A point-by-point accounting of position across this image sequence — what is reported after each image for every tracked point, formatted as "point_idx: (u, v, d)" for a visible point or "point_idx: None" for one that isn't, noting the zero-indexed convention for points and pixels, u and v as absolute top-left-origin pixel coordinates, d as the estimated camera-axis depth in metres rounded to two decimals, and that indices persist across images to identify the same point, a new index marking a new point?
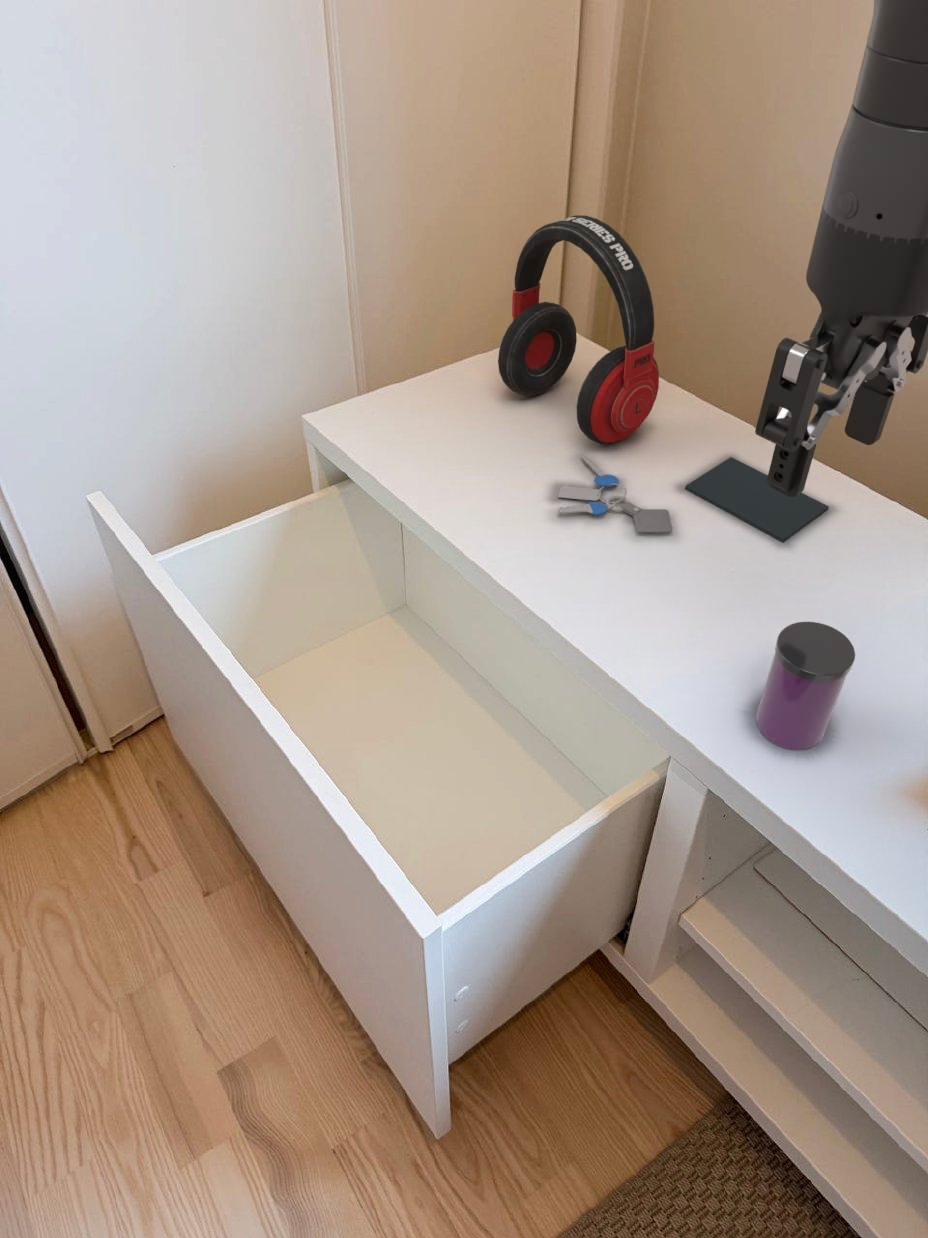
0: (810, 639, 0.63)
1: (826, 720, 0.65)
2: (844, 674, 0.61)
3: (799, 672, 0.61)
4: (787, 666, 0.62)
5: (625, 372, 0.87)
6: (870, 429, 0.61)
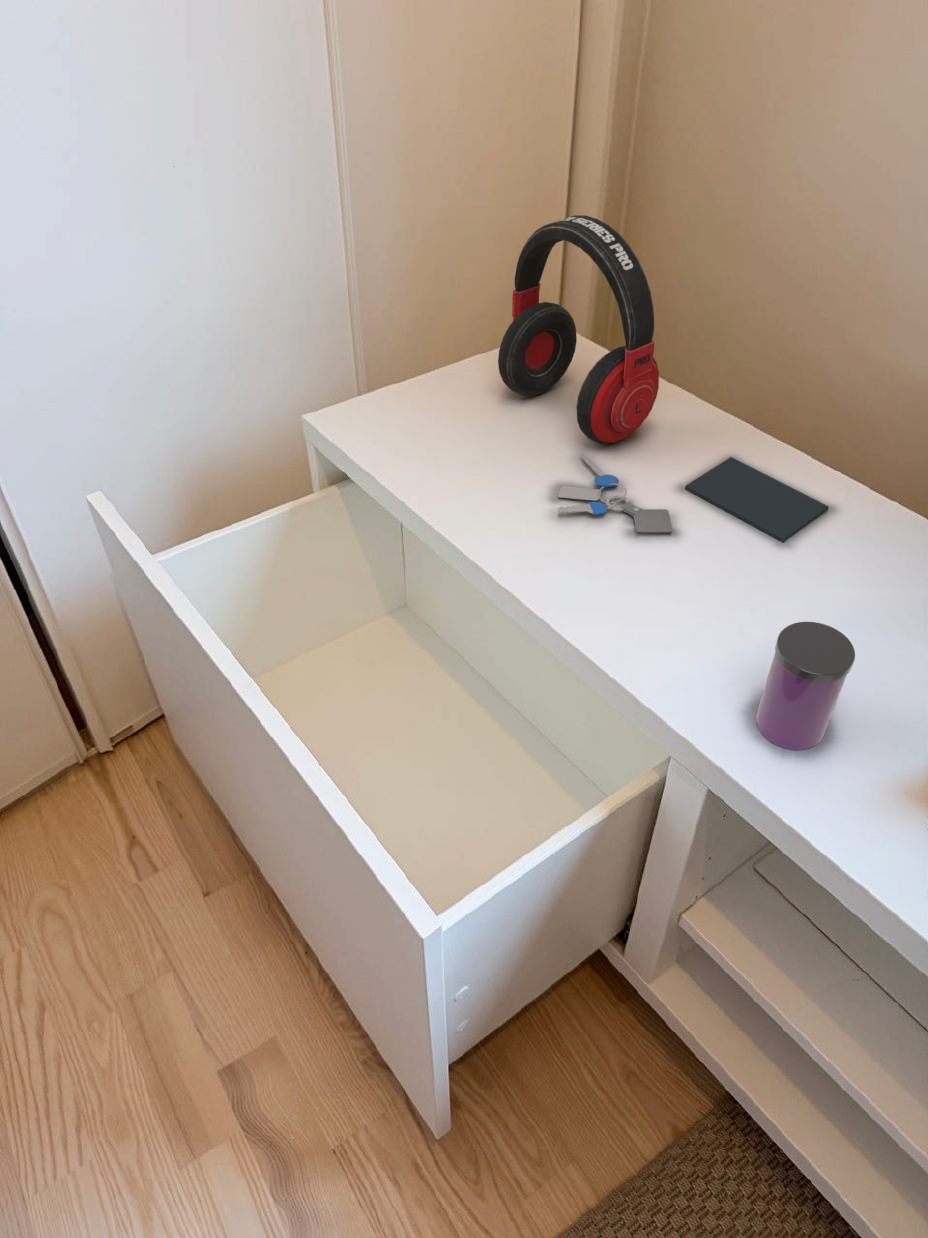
0: (810, 639, 0.63)
1: (826, 720, 0.65)
2: (844, 674, 0.61)
3: (799, 672, 0.61)
4: (787, 666, 0.62)
5: (625, 372, 0.87)
6: None
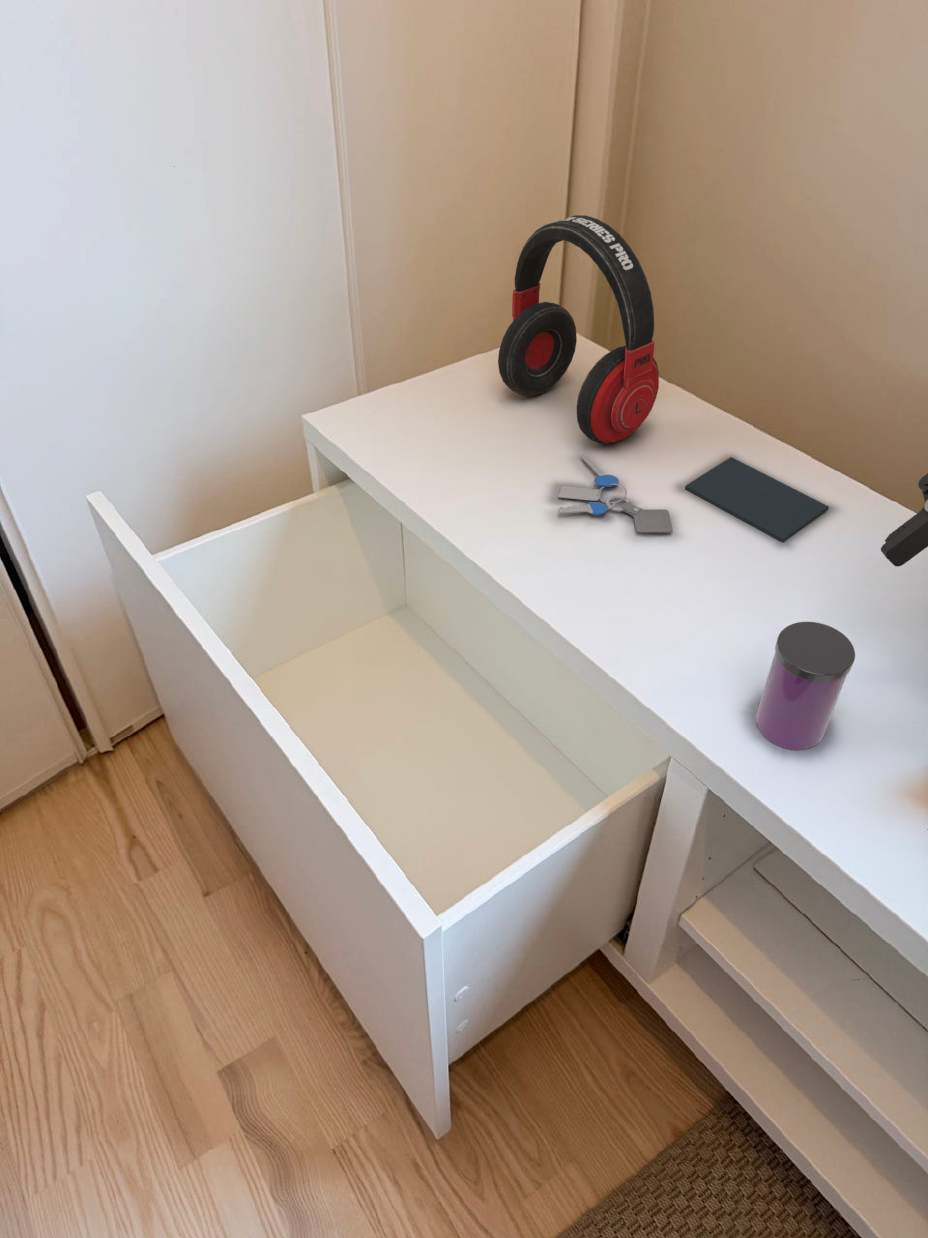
0: (810, 639, 0.63)
1: (826, 720, 0.65)
2: (844, 674, 0.61)
3: (799, 672, 0.61)
4: (787, 666, 0.62)
5: (625, 372, 0.87)
6: None
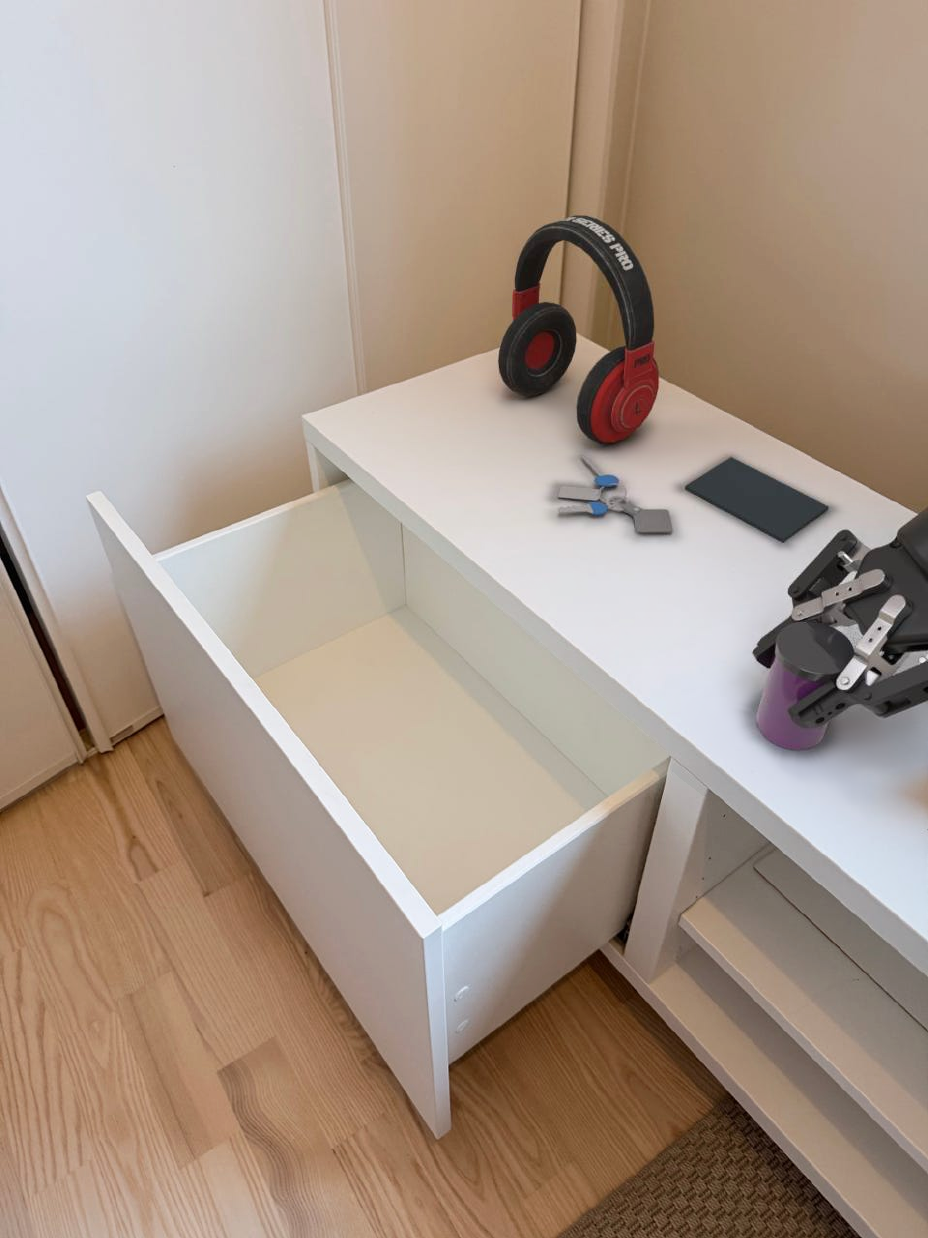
0: (810, 638, 0.63)
1: None
2: None
3: (799, 672, 0.61)
4: (787, 665, 0.62)
5: (625, 372, 0.87)
6: None
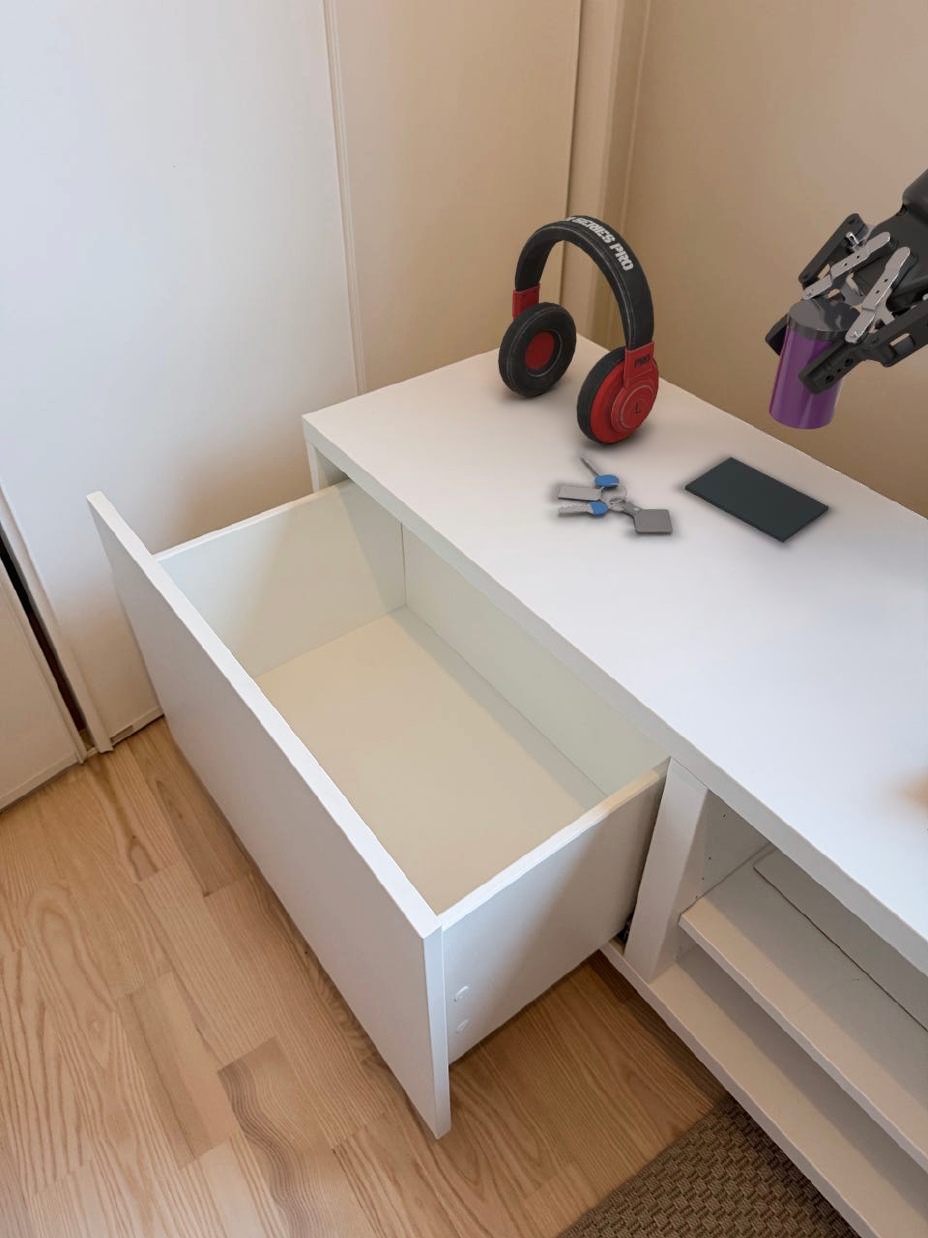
0: (820, 308, 0.67)
1: (835, 394, 0.68)
2: None
3: (810, 331, 0.65)
4: (798, 328, 0.65)
5: (625, 372, 0.87)
6: None
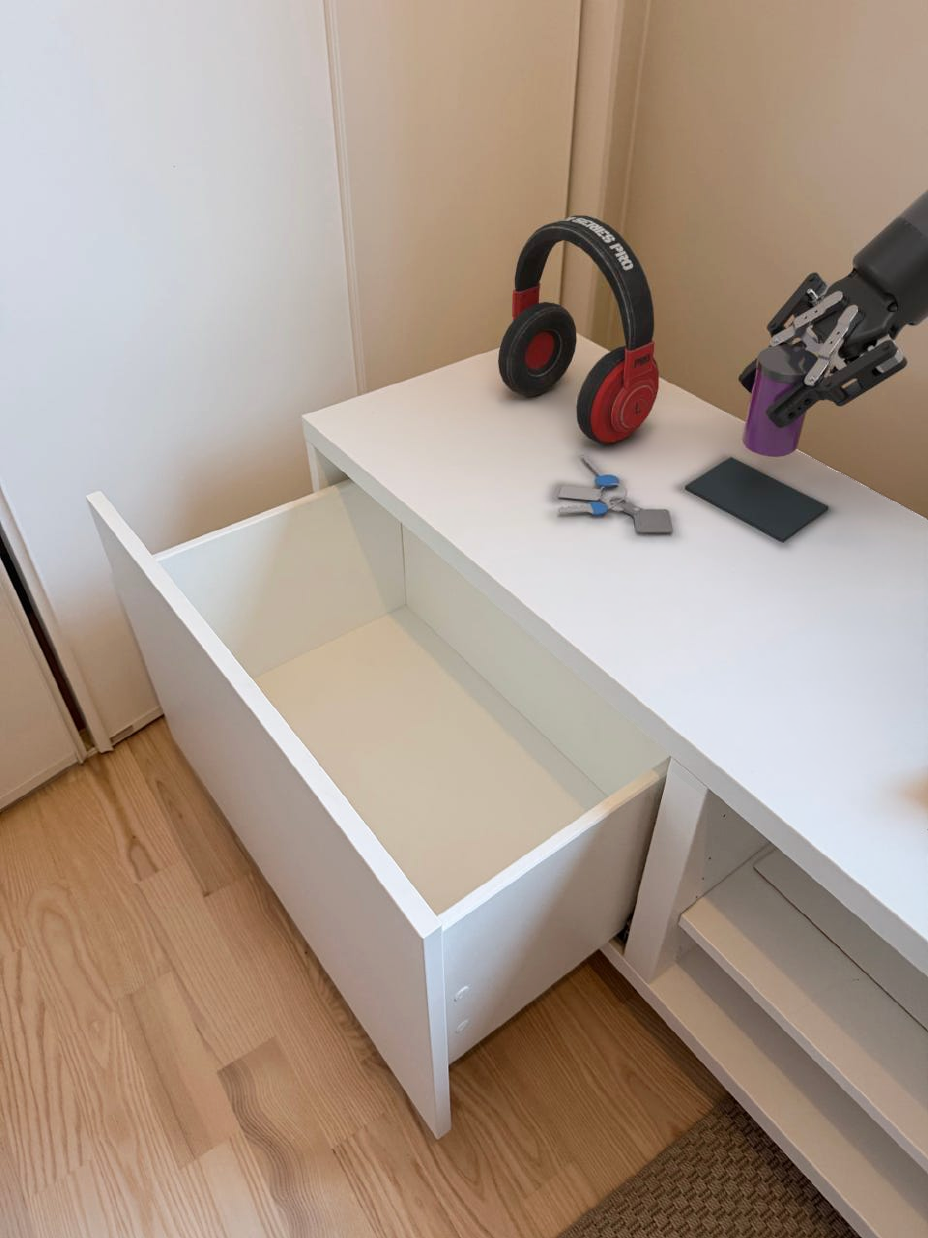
0: (784, 354, 0.78)
1: (798, 427, 0.80)
2: None
3: (775, 375, 0.76)
4: (765, 372, 0.77)
5: (625, 372, 0.87)
6: None
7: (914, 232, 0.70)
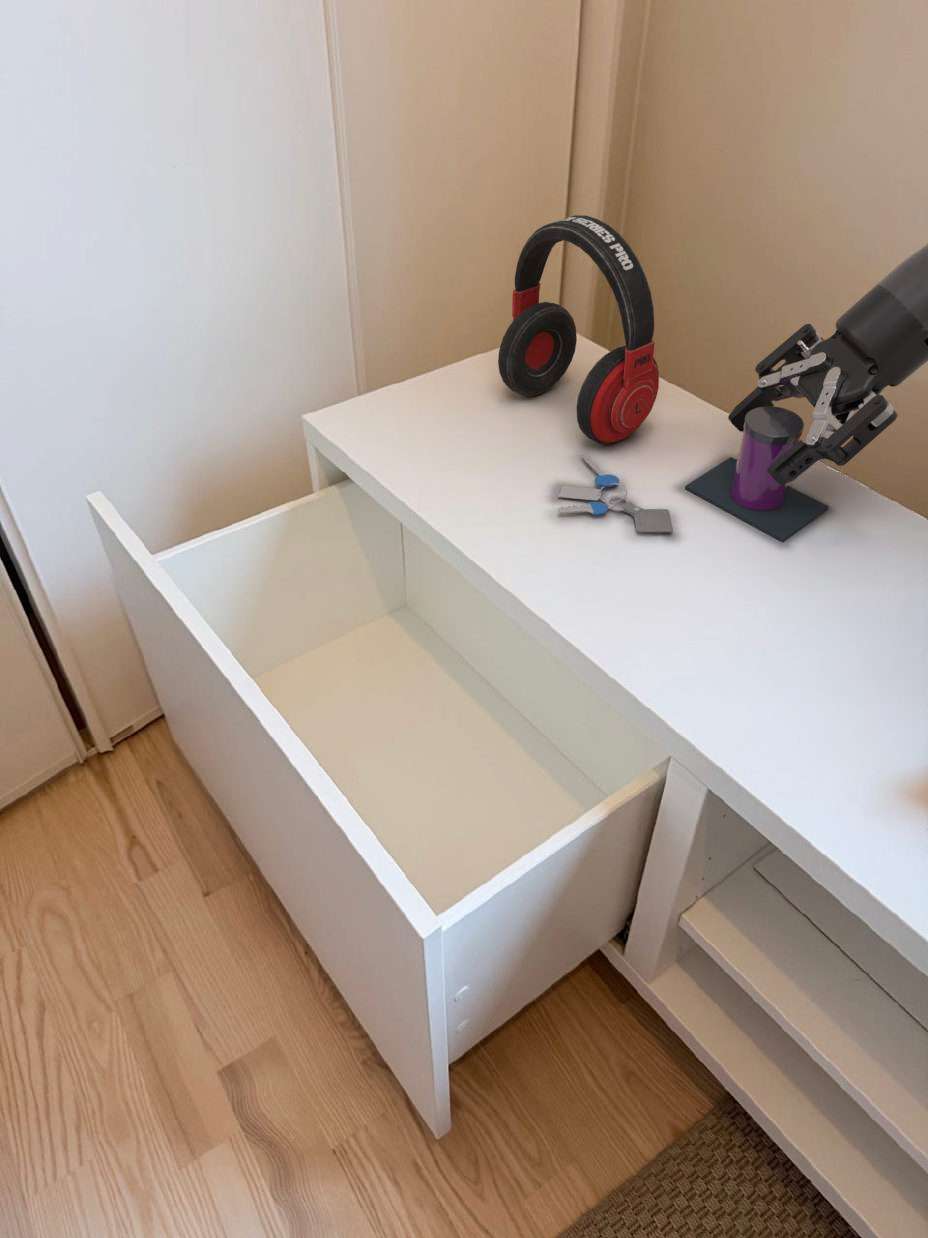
0: (770, 416, 0.82)
1: None
2: (795, 438, 0.80)
3: (761, 436, 0.80)
4: (752, 433, 0.81)
5: (625, 372, 0.87)
6: None
7: (893, 300, 0.74)
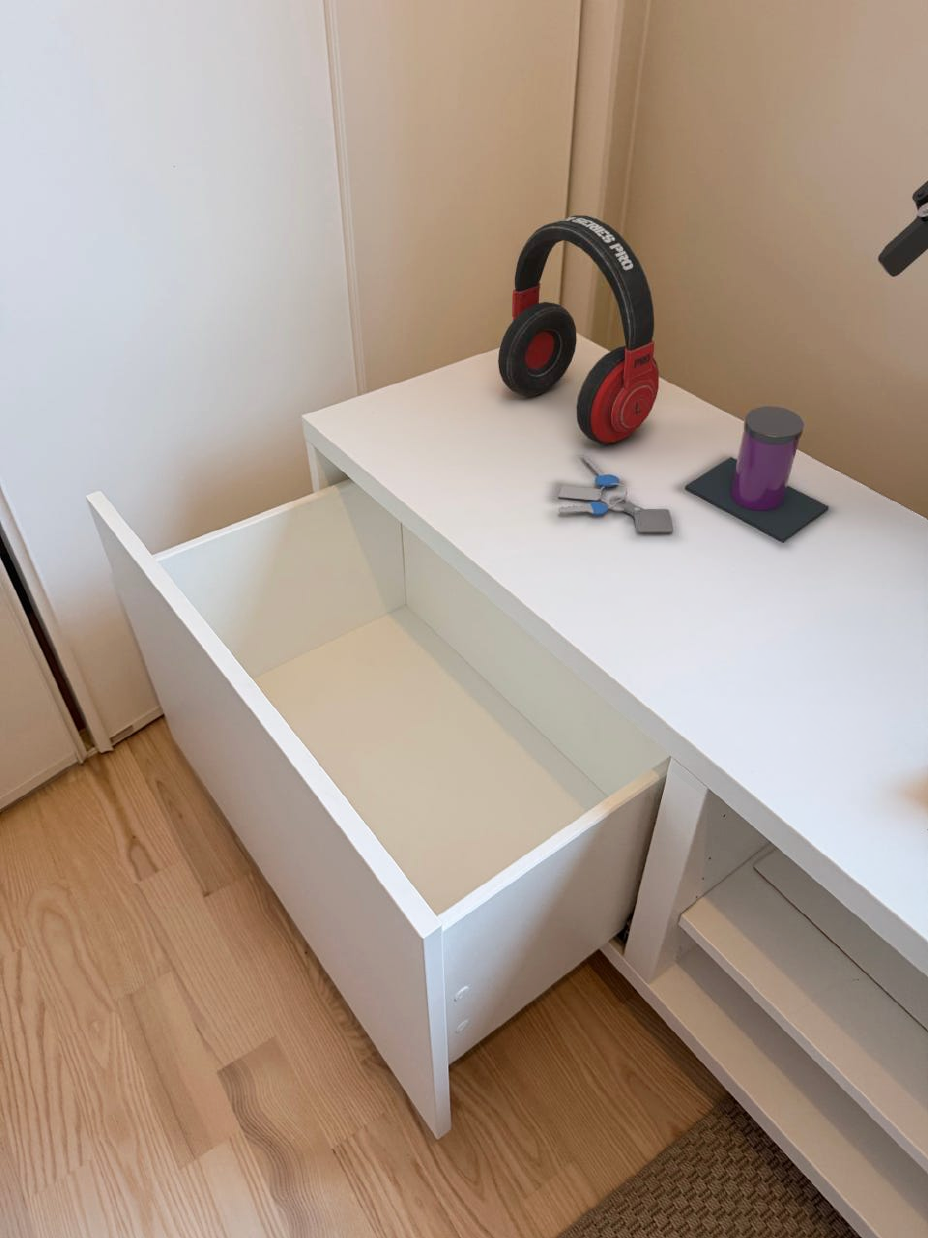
0: (770, 416, 0.82)
1: (783, 483, 0.84)
2: (795, 438, 0.80)
3: (761, 436, 0.80)
4: (752, 433, 0.81)
5: (625, 372, 0.87)
6: None
7: None
